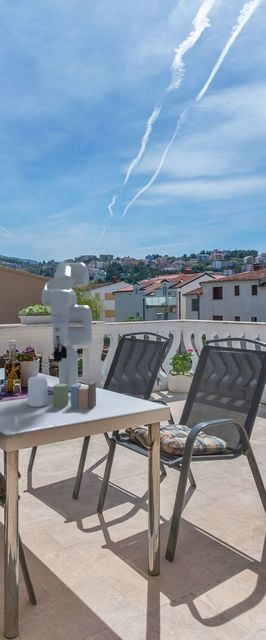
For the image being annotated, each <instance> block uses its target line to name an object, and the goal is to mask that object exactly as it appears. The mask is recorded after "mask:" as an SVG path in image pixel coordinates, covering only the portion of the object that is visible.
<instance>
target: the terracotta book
mask: <svg viewBox="0 0 266 640" xmlns="http://www.w3.org/2000/svg"><path fill="white" fill-rule="evenodd" d="M77 409H90V408H89V399H88V386H82V385H81V387H80V388H79V389H78V408H77Z"/></svg>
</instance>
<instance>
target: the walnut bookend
mask: <svg viewBox="0 0 266 640" xmlns="http://www.w3.org/2000/svg"><path fill="white" fill-rule="evenodd" d="M87 385H88V386H87V387H88V399H89V408H88V409H94V408H96V406H97V381H91V382H89V383H88V384H87Z"/></svg>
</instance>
